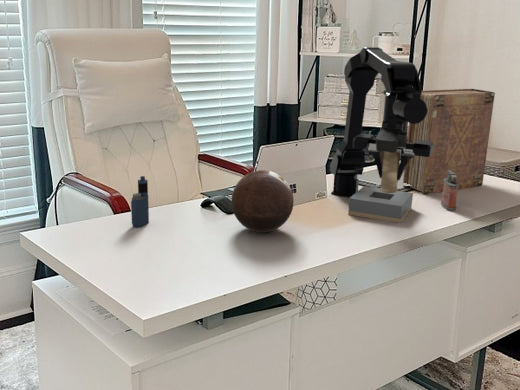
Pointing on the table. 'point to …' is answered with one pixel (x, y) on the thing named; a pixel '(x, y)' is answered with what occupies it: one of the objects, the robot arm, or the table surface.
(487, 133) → the book
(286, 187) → the wooden sphere
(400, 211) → the grey square-holed block
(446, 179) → the lighter
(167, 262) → the table surface
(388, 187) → the wooden pin
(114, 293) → the table surface
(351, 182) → the robot arm
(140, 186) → the vaping device
